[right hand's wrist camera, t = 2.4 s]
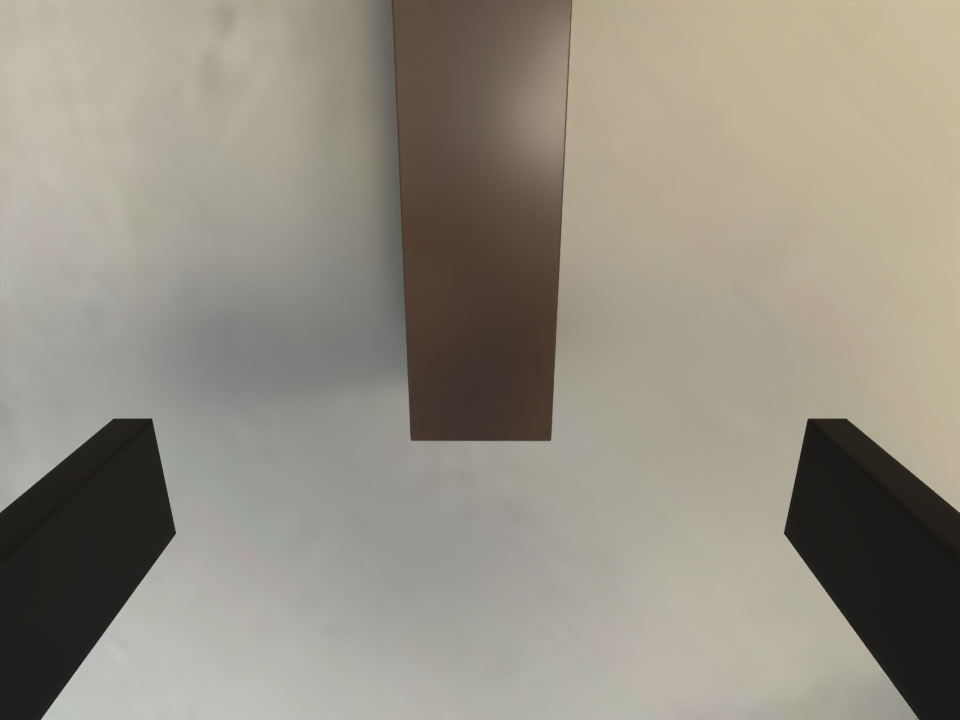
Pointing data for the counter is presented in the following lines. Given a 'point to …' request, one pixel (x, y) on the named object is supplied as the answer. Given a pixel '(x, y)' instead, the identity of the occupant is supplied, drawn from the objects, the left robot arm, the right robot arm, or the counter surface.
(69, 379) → the counter surface
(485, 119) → the walnut beam
